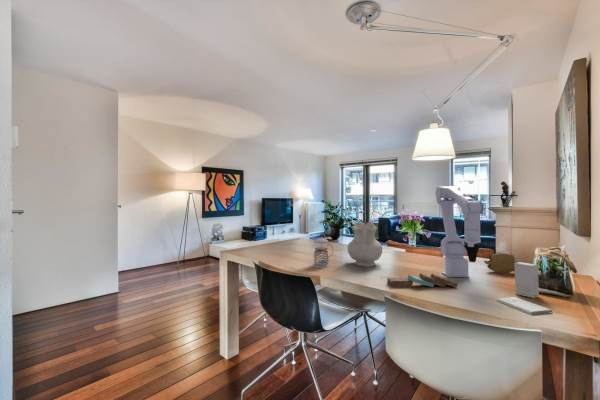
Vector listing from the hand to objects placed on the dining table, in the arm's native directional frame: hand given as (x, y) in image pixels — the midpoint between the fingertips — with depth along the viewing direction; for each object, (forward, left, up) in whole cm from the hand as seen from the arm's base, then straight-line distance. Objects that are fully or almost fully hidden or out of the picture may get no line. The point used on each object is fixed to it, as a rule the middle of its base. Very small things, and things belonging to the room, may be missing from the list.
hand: (472, 261), depth 117 cm
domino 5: (+7, 0, -10) cm, 12 cm away
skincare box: (-14, +10, -11) cm, 21 cm away
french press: (+62, -34, -11) cm, 72 cm away
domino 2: (+26, 0, -10) cm, 28 cm away
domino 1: (+25, 0, -9) cm, 27 cm away
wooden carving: (-27, -24, -11) cm, 38 cm away
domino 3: (+17, 0, -10) cm, 20 cm away
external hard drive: (-5, +22, -11) cm, 25 cm away
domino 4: (+12, -1, -10) cm, 15 cm away
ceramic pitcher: (+38, -38, -11) cm, 55 cm away
